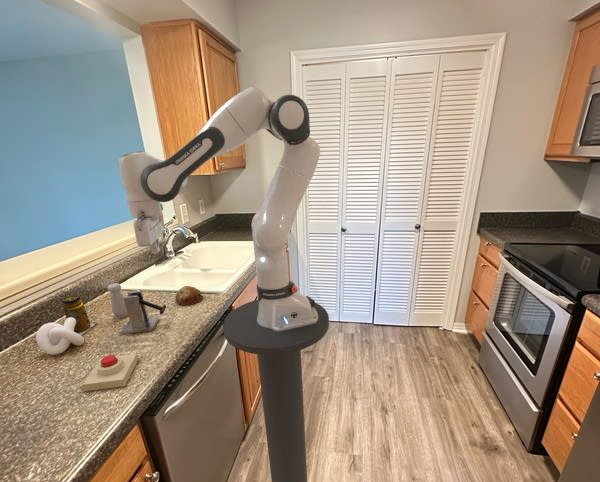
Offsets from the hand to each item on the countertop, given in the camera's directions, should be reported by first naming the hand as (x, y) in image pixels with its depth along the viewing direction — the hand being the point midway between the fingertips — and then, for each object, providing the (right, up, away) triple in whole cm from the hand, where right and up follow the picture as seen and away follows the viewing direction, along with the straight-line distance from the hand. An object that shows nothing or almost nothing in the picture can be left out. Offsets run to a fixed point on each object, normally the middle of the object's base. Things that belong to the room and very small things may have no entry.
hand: (156, 252), depth 104 cm
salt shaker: (-22, -22, +20) cm, 37 cm away
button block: (-6, -36, -14) cm, 39 cm away
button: (-6, -32, -15) cm, 36 cm away
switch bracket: (-10, -25, +11) cm, 29 cm away
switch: (-7, -18, +8) cm, 21 cm away
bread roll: (+1, -17, +30) cm, 34 cm away
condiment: (-32, -27, +11) cm, 43 cm away
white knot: (-28, -31, 0) cm, 42 cm away
